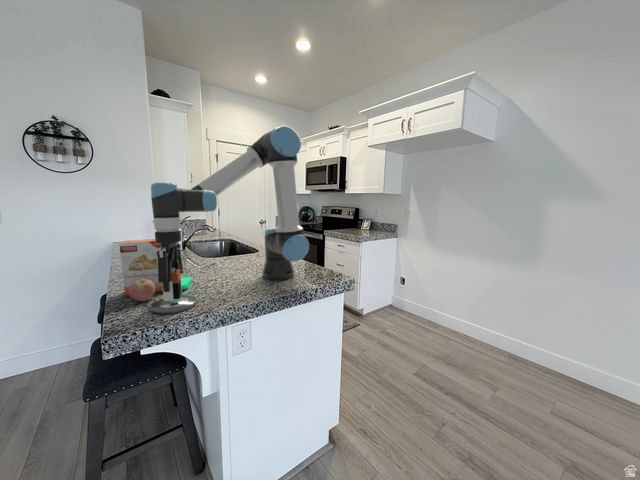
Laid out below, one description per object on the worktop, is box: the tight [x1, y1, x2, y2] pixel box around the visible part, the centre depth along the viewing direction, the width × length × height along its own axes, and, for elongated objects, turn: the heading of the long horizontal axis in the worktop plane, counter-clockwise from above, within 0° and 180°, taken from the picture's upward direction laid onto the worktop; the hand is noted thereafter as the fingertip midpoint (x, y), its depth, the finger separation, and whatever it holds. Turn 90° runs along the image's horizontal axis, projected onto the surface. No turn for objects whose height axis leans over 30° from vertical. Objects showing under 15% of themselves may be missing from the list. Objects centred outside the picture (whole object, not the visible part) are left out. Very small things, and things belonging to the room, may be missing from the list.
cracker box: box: [119, 238, 163, 297], centre depth 104 cm, size 14×6×21 cm, turn 115°
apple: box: [129, 279, 156, 302], centre depth 96 cm, size 8×8×8 cm
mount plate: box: [150, 294, 198, 316], centre depth 92 cm, size 14×14×1 cm
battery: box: [171, 267, 183, 299], centre depth 90 cm, size 4×7×10 cm, turn 22°
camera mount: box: [181, 276, 193, 290], centre depth 110 cm, size 12×8×10 cm, turn 15°
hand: (173, 295), depth 91 cm, fingers closed on battery, 7 cm apart
